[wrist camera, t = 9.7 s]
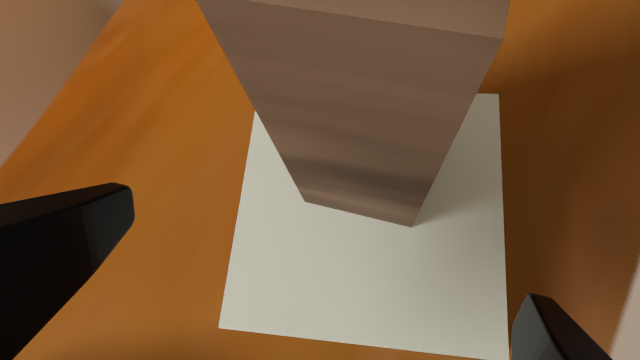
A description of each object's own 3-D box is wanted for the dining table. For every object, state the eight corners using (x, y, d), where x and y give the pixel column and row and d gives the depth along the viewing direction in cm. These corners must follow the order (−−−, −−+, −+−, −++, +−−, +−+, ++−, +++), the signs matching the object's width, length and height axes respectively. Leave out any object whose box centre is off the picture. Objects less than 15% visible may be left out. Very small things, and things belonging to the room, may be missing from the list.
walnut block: (411, 227, 18) (503, 39, 6) (304, 201, 19) (191, -8, 7) (432, 128, 19) (542, -191, 7) (332, 108, 20) (279, -205, 8)
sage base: (487, 355, 19) (509, 362, 16) (238, 326, 20) (218, 328, 18) (482, 122, 22) (498, 94, 20) (271, 113, 24) (259, 86, 21)
